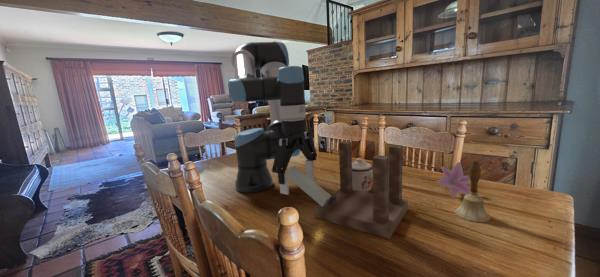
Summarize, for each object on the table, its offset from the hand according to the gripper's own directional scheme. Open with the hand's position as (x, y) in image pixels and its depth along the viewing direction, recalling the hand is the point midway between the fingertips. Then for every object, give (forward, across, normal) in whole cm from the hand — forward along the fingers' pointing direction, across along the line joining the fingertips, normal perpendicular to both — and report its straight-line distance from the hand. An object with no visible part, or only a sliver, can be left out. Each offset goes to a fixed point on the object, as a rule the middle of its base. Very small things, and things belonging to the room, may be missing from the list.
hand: (298, 186), depth 80 cm
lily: (+8, +34, -40) cm, 53 cm away
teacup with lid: (+8, +26, -10) cm, 29 cm away
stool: (+8, +7, -18) cm, 21 cm away
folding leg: (+3, 0, -10) cm, 11 cm away
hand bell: (+8, +21, -45) cm, 50 cm away
